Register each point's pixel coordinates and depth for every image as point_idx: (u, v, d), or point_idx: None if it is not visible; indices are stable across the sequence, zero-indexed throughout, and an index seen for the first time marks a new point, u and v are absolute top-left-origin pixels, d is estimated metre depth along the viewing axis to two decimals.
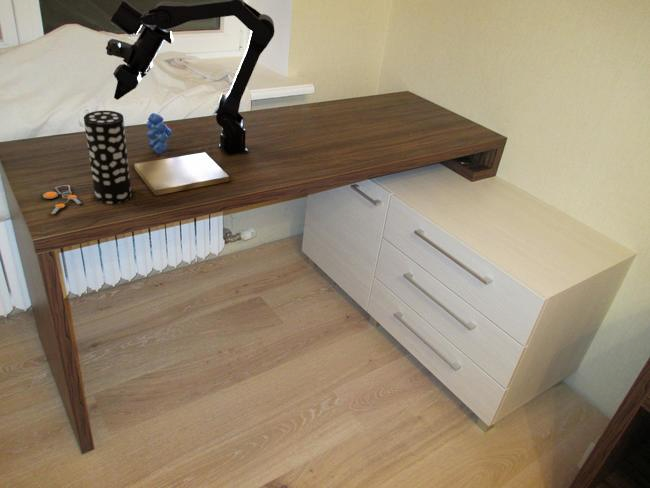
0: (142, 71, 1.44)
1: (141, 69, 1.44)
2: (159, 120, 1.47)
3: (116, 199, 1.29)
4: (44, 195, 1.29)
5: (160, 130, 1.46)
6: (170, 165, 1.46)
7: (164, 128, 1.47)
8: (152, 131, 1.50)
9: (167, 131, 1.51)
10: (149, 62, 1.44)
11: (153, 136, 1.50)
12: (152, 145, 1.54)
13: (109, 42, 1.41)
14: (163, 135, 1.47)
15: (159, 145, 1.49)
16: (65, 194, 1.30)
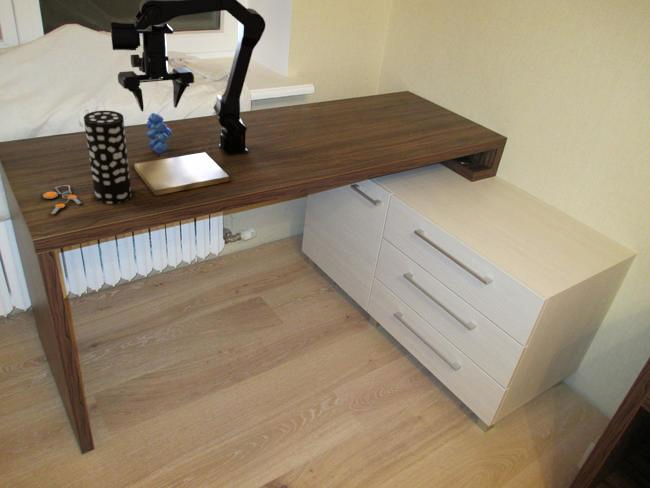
0: (150, 75, 1.40)
1: (149, 74, 1.40)
2: (159, 120, 1.47)
3: (116, 200, 1.29)
4: (44, 195, 1.29)
5: (160, 130, 1.46)
6: (170, 165, 1.46)
7: (164, 128, 1.47)
8: (152, 131, 1.50)
9: (167, 131, 1.51)
10: (154, 65, 1.39)
11: (153, 136, 1.50)
12: (152, 145, 1.54)
13: None
14: (163, 135, 1.47)
15: (159, 145, 1.49)
16: (65, 194, 1.30)
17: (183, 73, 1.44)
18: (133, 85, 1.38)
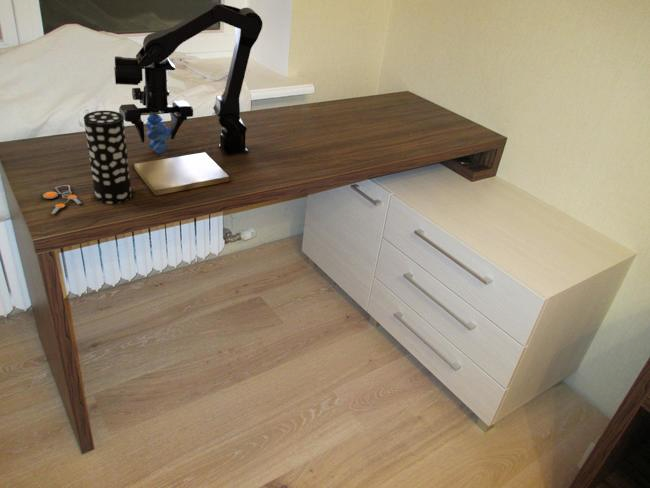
0: (150, 109, 1.44)
1: (150, 107, 1.45)
2: (158, 120, 1.47)
3: (116, 200, 1.29)
4: (44, 195, 1.29)
5: (159, 130, 1.46)
6: (170, 165, 1.46)
7: (163, 128, 1.46)
8: (151, 131, 1.50)
9: (166, 131, 1.51)
10: (155, 99, 1.43)
11: (153, 136, 1.50)
12: (152, 145, 1.54)
13: None
14: (162, 135, 1.47)
15: (159, 145, 1.49)
16: (65, 194, 1.30)
17: (183, 107, 1.49)
18: (134, 118, 1.42)
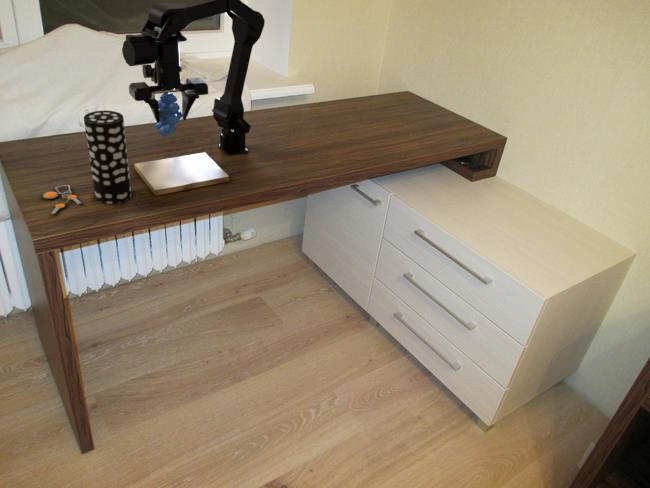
0: (162, 87, 1.34)
1: (161, 85, 1.34)
2: (173, 100, 1.37)
3: (116, 200, 1.29)
4: (44, 195, 1.29)
5: (172, 110, 1.36)
6: (170, 165, 1.46)
7: (177, 109, 1.36)
8: (162, 110, 1.39)
9: (178, 114, 1.41)
10: (166, 75, 1.33)
11: (162, 116, 1.39)
12: (158, 126, 1.43)
13: None
14: (174, 116, 1.36)
15: (167, 126, 1.38)
16: (65, 194, 1.30)
17: (197, 84, 1.38)
18: (144, 97, 1.32)
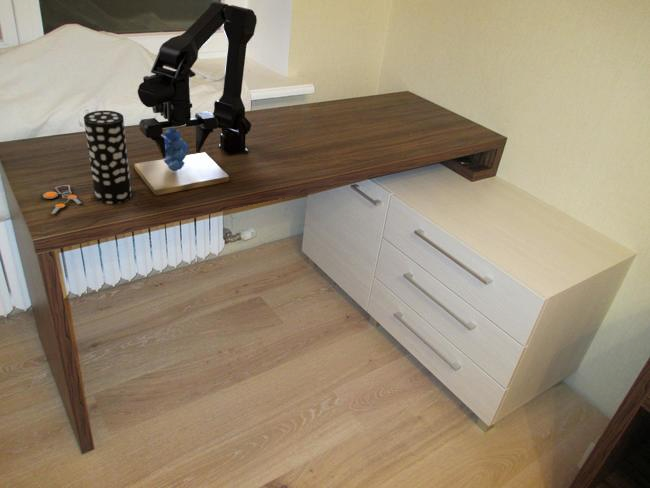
0: (173, 123, 1.34)
1: (172, 121, 1.34)
2: (177, 135, 1.36)
3: (116, 200, 1.29)
4: (44, 195, 1.29)
5: (178, 146, 1.36)
6: None
7: (182, 144, 1.36)
8: (168, 147, 1.39)
9: (184, 147, 1.41)
10: (177, 112, 1.33)
11: (169, 152, 1.39)
12: (167, 162, 1.43)
13: None
14: (181, 152, 1.36)
15: (176, 162, 1.38)
16: (65, 194, 1.30)
17: (207, 119, 1.38)
18: (156, 134, 1.32)
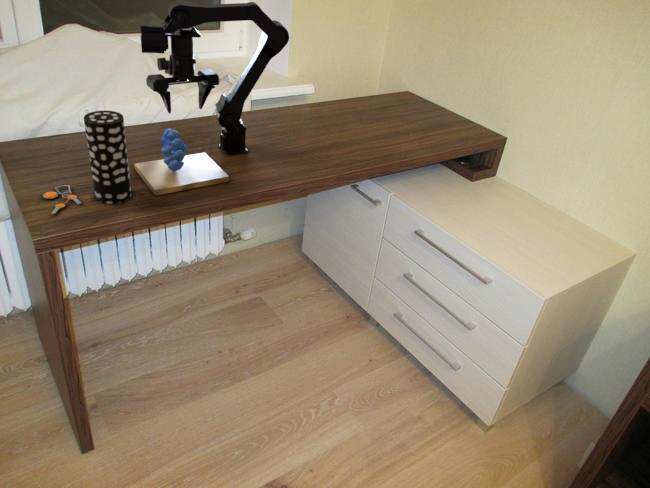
0: (178, 78, 1.43)
1: (177, 76, 1.43)
2: (175, 136, 1.36)
3: (116, 200, 1.29)
4: (44, 195, 1.29)
5: (176, 147, 1.35)
6: None
7: (181, 145, 1.35)
8: (167, 147, 1.39)
9: (183, 147, 1.40)
10: (182, 67, 1.42)
11: (168, 153, 1.39)
12: (167, 162, 1.43)
13: None
14: (179, 152, 1.36)
15: (175, 163, 1.38)
16: (65, 194, 1.30)
17: (209, 75, 1.48)
18: (162, 88, 1.41)
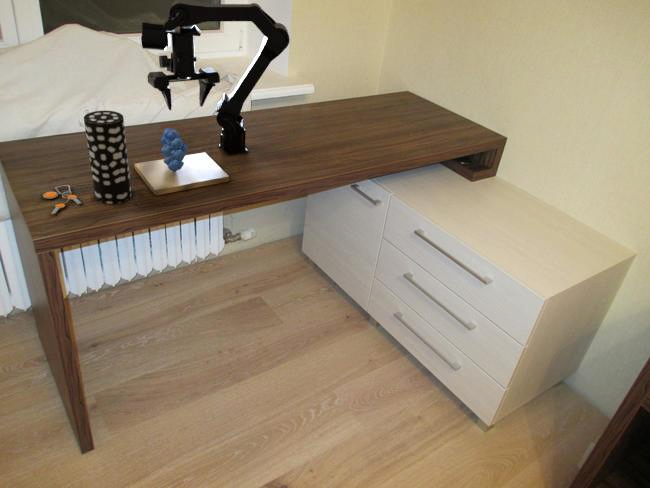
0: (178, 75, 1.45)
1: (178, 74, 1.45)
2: (175, 136, 1.36)
3: (116, 200, 1.29)
4: (44, 195, 1.29)
5: (176, 147, 1.35)
6: None
7: (181, 145, 1.35)
8: (167, 147, 1.39)
9: (183, 147, 1.40)
10: (182, 65, 1.44)
11: (168, 153, 1.39)
12: (167, 162, 1.43)
13: None
14: (179, 152, 1.36)
15: (175, 163, 1.38)
16: (65, 194, 1.30)
17: (210, 73, 1.50)
18: (163, 85, 1.43)
